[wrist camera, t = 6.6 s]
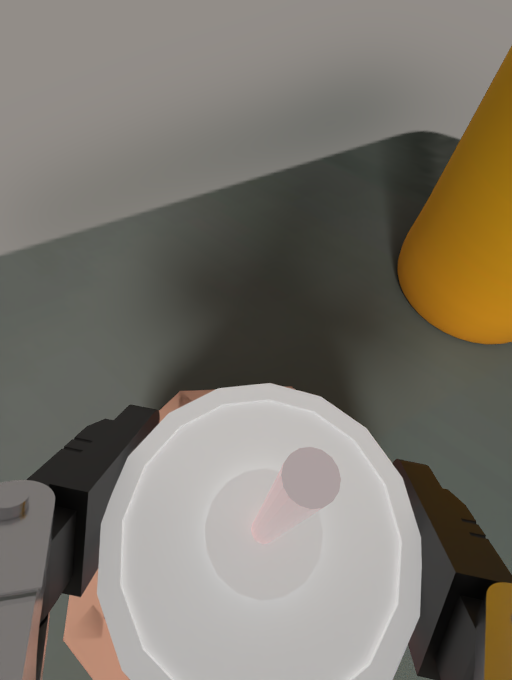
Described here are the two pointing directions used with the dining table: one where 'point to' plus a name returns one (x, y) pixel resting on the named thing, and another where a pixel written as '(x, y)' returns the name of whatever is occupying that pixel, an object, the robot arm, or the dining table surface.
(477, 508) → the dining table surface
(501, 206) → the beer bottle
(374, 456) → the beverage cup
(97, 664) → the ceramic ring
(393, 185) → the dining table surface
